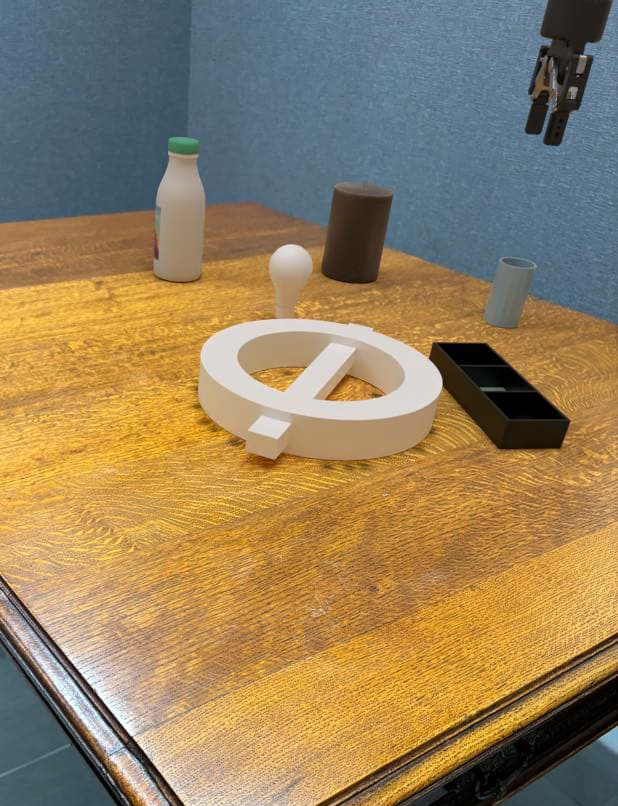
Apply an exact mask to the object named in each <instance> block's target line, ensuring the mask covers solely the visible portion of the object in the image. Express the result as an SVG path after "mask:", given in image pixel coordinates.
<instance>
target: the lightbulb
mask: <svg viewBox="0 0 618 806" xmlns="http://www.w3.org/2000/svg"><path fill="white" fill-rule="evenodd" d="M313 269H314V264H313V259H312V257H311V254H310V253H309V251H308V250H306V249H305V248H304V247H302V246H301V245H298V244H294V243H293V244H292V243H291V244H290V243H289V244H285V245H282V246H280V247H279V248H277V249H276V250H275V251H274V252H273V254H272V255H271V256H270V258H269V262H268V274H269V276H270V280H271V284H272V285H273V289H274V295H275V298H274V304H275V319H294V314H295V309H296V307H297V305H298V301H299V297H300V294H301V293H302V291H303V289H304V288H305V287H306V285H307V284H308V282H309V280H311V277H312V274H313Z"/></svg>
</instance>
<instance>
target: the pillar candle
mask: <svg viewBox="0 0 618 806" xmlns="http://www.w3.org/2000/svg"><path fill="white" fill-rule="evenodd" d="M393 199H394V191H393V190H391V188H388V187H384V186H380V185H376V184H372V183H371V184H370V183H366V180H365V179H364V180H363V183H362V182H351V181H344V182H339V183H336V184H334V187H333V193H332V199H331V205H330V212H329V218H328V225H327V231H326V237H325V243H324V249H323V253H322V254H323V255H322V261H321V265H320V268H321V269H320V270H321V272H322V274H324V276H326V277H328V278H330V279H333V280H337V281H341V282H347V283H354V284H364V283H371V282H374V281H376V280H377V279H378V278H379V277H378V276H379V271H380V267H381V262H382V258H383V257H382V256H383V252H384V246H385V241H386V235H387V230H388V225H389V219H390V215H391V210H392V203H393Z"/></svg>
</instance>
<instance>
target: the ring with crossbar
mask: <svg viewBox="0 0 618 806" xmlns="http://www.w3.org/2000/svg"><path fill="white" fill-rule="evenodd" d="M199 357H200V358H199V371H198V383H197V384H198V385H197V399H198V402H199V404H200V406H201V408H202V410H203V411H204V413H205V414H206V415H207V417H209V418H210V419H211V420H212V421H213V422H214V423H215V424H216V425H218V426H219V427H221V429H224V430H225V431H226V432H228V433H230V434H232V435H233V436H235V437H238V438H239V439H241V440H244V441H245V447H244V452H248V453H250V454H254V455H257V456H260V457H263V458H268V459H271V460H274V461H275V460H276V459H277V458H278V457H279V456H280V455H281V453H282V454H286V455H291V456H296V457H302V458H309V459H315V460H328V461H362V460H372V459H379V458H385V457H389V456H393V455H397V454H400V453H402V452H404V451H407V450H411V449H412V448H414V447H415V446H417V445H418V444H420V443H421V442H423V441H424V440H425V439H426V437H428V435H429V434H430V432H431V430H432V428H433V424H434V419H435V416H436V412H437V408H438V405H439V402H440V401H439V400H440V397H441V394H442V393H441V392H442V390H443V385H442V384H443V383H442V377H441V374H440V372H439V371H438V369H437V368H436V366H435V365H434V364H433V363H432V362H431V361H430V360H429V357H426V355H424V354H423V353H421V352H420V351H419V350H417V349H416V348H414V347H412V346H410V345H408V344H406V343H405V342H403V341H401V340H398V339H395V338H394V337H391V336H388V335H387V334H386V335H385V334H382V333H379V332H377V331H375V328H374V327H369V326H365V325H362V324H357V323H353V322H349V323H348V324H345V323H341V322H334V321H327V320H319V319H309V318H293V319H276V318H269V319H261V320H252V321H247V322H242V323H238V324H236V325H235V324H234V325H232V326H229V327H226V328H224V329H222V330H220V331H218V332H216V333H214V334H213V335H211V336H210V337H209V338H208V339H207V340H206V341H205V342H204V343H203V345H202V347H201V350H200V355H199ZM294 367H297V368H305V370H303V371H302V372H301V374H300V375H298V377H296V378H295V380H294V381H293V382H292V383H291V384H290V385H289V386H288V387H287V388H286V389H285V390H284V391H282V390H279V389H276V388H273V387H271V386H270V385H266V384H264V383H263V382H260V381H258V380H257V379H256V378H254V377H252V376H251V375H252V374H255V373H258V372H261V371H266V370H271V369H275V368H277V369H278V368H294ZM346 375H347V376H351V377H354V378H356V379H359V380H361V381H364V382H366V383H368V384H370V385H372V386H374V388H377V389H378V390H380V391H381V392H382V393H384V394H385V395H382V396H379V397H374V398H369V399H361V400H345V401H344V400H343V401H342V400H326V399H327V397H328V396H329V395H330V394H331V393H332V391H333V390H334V389H335V388H336V387H337V385H338V384H339V383H340V382H341V381H342V380H343V378H344V377H345V376H346Z"/></svg>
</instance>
